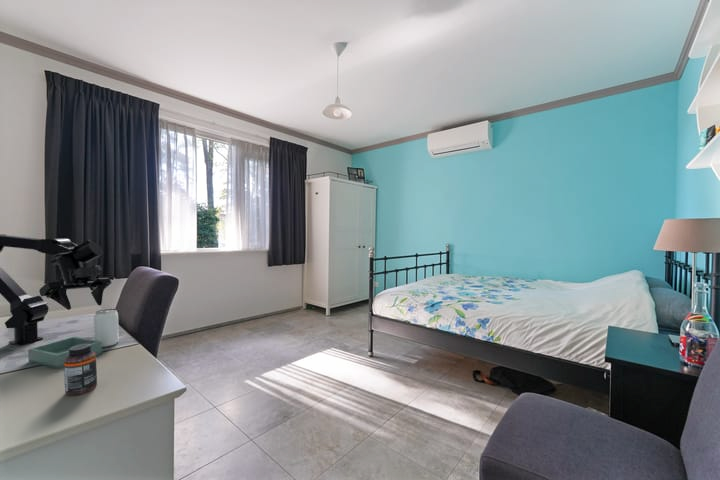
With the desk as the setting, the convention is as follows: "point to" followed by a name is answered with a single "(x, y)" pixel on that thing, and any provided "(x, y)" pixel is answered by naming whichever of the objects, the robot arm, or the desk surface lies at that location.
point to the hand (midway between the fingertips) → (85, 307)
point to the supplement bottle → (80, 370)
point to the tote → (59, 351)
